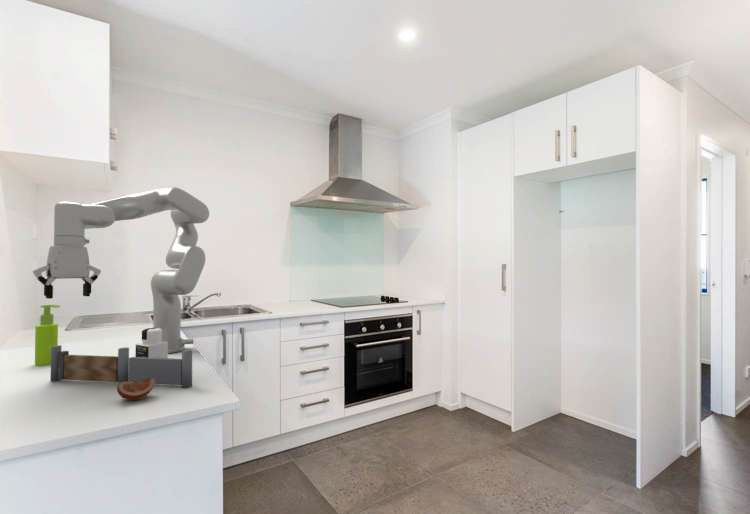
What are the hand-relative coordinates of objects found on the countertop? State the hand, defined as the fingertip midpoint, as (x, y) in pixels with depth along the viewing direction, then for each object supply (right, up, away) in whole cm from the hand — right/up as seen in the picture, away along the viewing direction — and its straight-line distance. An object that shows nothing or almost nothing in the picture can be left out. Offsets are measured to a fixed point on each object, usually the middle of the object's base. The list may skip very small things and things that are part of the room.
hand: (68, 297), depth 121 cm
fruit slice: (+35, -24, -23) cm, 48 cm away
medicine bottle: (+19, -24, +12) cm, 33 cm away
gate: (+13, -23, -8) cm, 28 cm away
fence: (+22, -24, -10) cm, 34 cm away
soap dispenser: (-17, -24, +12) cm, 32 cm away
